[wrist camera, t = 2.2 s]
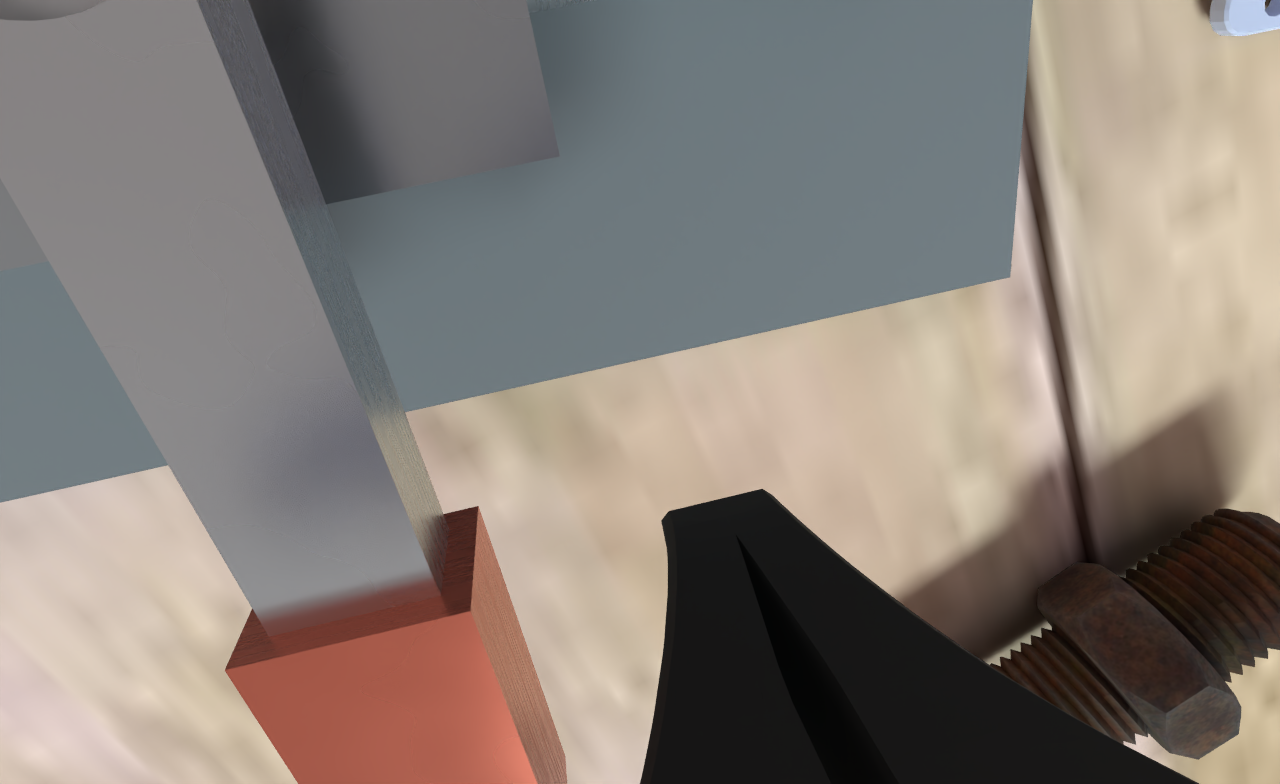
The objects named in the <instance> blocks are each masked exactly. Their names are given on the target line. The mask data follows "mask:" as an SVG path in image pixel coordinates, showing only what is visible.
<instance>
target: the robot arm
mask: <svg viewBox="0 0 1280 784" xmlns="http://www.w3.org/2000/svg"><path fill="white" fill-rule="evenodd" d="M1265 1H1266V0H1212V3H1211V8H1210V24H1211V26H1212V29H1213V31H1215V32H1216V33H1217V34H1219V35H1222V36H1246V35H1251V34H1256V33H1261V32H1265V31H1270V30H1275V29H1280V0H1271V1H1270V3H1269V6H1268V7H1267V8H1266V9H1265ZM662 526H663V531H664V536H665V541H666V546H667V555H668V598H667V612H666V625H665V639H664V649H663V657H662V664H661V671H660V678H659V684H658V691H657V698H656V705H655V711H654V718H653V723H652V729H651V734H650V739H649V744H648V749H647V754H646V759H645V764H644V769H643V773H642V778H641V782H640V784H1199V783H1197V782H1195V781H1193V780H1191V779H1189V778H1187V777H1185V776H1183V775H1181V774H1179V773H1178V772H1176V771H1174V770H1172V769H1170V768H1168V767H1166V766H1164V765H1162V764H1160V763H1158V762H1156V761H1154V760H1152V759H1150V758H1148V757H1146V756H1144V755H1142V754H1141V753H1139V752H1137V751H1135V750H1133V749H1131V748H1129V747H1127V746H1125V745H1123V744H1121V743H1119V742H1118V741H1116V740H1114V739H1112V738H1110V737H1109V736H1107V735H1105V734H1103V733H1102V732H1100V731H1098V730H1096V729H1095V728H1093V727H1091V726H1089V725H1088V724H1086V723H1084V722H1082V721H1081V720H1079V719H1077V718H1075V717H1074V716H1072V715H1070V714H1068V713H1067V712H1065V711H1063V710H1061V709H1060V708H1058V707H1056V706H1055V705H1053V704H1051V703H1050V702H1048V701H1046V700H1045V699H1043V698H1041V697H1040V696H1038V695H1037V694H1035V693H1033V692H1032V691H1030V690H1028V689H1027V688H1025V687H1023V686H1022V685H1020V684H1018V683H1017V682H1015V681H1014V680H1012V679H1010V678H1009V677H1007V676H1006V675H1004V674H1002V673H1001V672H999V671H998V670H996V669H995V668H993V667H992V666H990V665H988V664H987V663H985V662H984V661H982V660H981V659H979V658H978V657H976V656H975V655H973V654H972V653H970V652H969V651H967V650H966V649H964V648H963V647H961V646H960V645H958V644H957V643H956V642H954V641H953V640H951V639H950V638H948V637H947V636H946V635H944V634H943V633H941V632H940V631H938V630H937V629H936V628H934V627H933V626H931V625H930V624H928V623H927V622H926V621H924V620H923V619H921V618H920V617H919V616H917V615H916V614H915V613H913V612H912V611H911V610H909V609H908V608H906V607H905V606H904V605H902V604H901V603H900V602H898V601H897V600H896V599H894V598H893V597H892V596H890V595H889V594H888V593H887V592H885V591H884V590H883V589H882V588H880V587H879V586H878V585H876V584H875V583H874V582H873V581H871V580H870V579H869V578H867V577H866V576H865V575H864V574H862V573H861V572H860V571H859V570H857V569H856V568H855V567H853V566H852V565H851V564H850V563H849V562H847V561H846V560H845V559H844V558H842V557H841V556H840V555H839V554H838V553H836V552H835V551H834V550H833V549H832V548H830V547H829V546H828V545H827V544H826V543H825V542H823V541H822V540H821V539H820V538H819V537H818V536H816V535H815V534H814V533H813V532H812V531H811V530H810V529H808V528H807V527H806V526H805V525H804V524H803V523H802V522H801V521H799V520H798V519H797V518H796V517H795V516H794V515H793V514H792V513H791V512H790V511H789V510H787V509H786V508H785V507H784V506H783V505H782V504H781V503H780V502H779V501H778V500H777V499H776V498H775V497H774V496H773V495H771V494H770V493H768V492H767V491H765V490H763V489H760V490H756V491H751V492H747V493H743V494H739V495H735V496H731V497H726V498H722V499H718V500H714V501H710V502H706V503H701V504H697V505H693V506H689V507H685V508H681V509H676V510H672V511H669V512H668V513H667V514H666V516H665V517H664V518H663V519H662Z"/></svg>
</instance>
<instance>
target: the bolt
mask: <svg viewBox="0 0 1280 784" xmlns="http://www.w3.org/2000/svg"><path fill="white" fill-rule="evenodd" d="M1147 559H1148V562H1143V561H1138V563H1137V570H1135V569H1131V568H1129V569H1127V570H1126V578H1124V577H1119V576H1117V575H1116V574H1114V573H1113V572H1111V571H1110V570H1108V569H1107V568H1105V567H1104V566H1102V565H1099V564H1093V563H1079V562H1076V563H1074V564H1073V565H1071V566H1070V567H1069V568H1067V569H1066V570H1064V571H1063V572H1061V573H1060V574H1058V575H1057V576H1055V577H1054V578H1052V579H1051V580H1049V581H1048V582H1047V583H1045V584H1044V585H1042V586H1041V587H1039V588H1038V594H1037V607H1038V608H1039V610H1040V611H1041V613H1042V615H1043V616H1044V617H1045V619H1046V620H1047V621H1048V623H1049V624H1050V625H1051V626H1052V630H1048V629H1044V628H1041V633H1042V638H1040V637H1036V636H1033V635H1031V645H1029V644H1025V643H1022V642H1021V652H1018V651H1015V650H1012V649H1010V651H1011V660H1010V659H1007V658H1004V657H1000V662H1001V667H1000V666H997V665H995V664H992V663H991V664H990V666H992V667H993V668H995V669H996V670H998V671H999V672H1001V673H1002V674H1004V675H1006V676H1007V677H1009V678H1010V679H1012V680H1014V681H1015V682H1017V683H1018V684H1020V685H1022V686H1023V687H1025V688H1027V689H1028V690H1030V691H1032V692H1033V693H1035V694H1037V695H1038V696H1040V697H1041V698H1043V699H1045V700H1046V701H1048V702H1050V703H1051V704H1053V705H1055V706H1056V707H1058V708H1060V709H1061V710H1063V711H1065V712H1067V713H1068V714H1070V715H1072V716H1074V717H1075V718H1077V719H1079V720H1081V721H1082V722H1084V723H1086V724H1088V725H1089V726H1091V727H1093V728H1095V729H1096V730H1098V731H1100V732H1102V733H1103V734H1105V735H1107V736H1109V737H1110V738H1112V739H1114V740H1116V741H1118V742H1119V743H1121V744H1123V741H1126V742H1129V743H1132V744H1136V741H1135V733H1136V734H1139V735H1142V736H1145V737H1148V733H1149V734H1150V735H1151V736H1152V737H1153V738H1154V739H1155V740H1156V741H1157V742H1158V743H1159V744H1160V745H1161V746H1162V747H1163V748H1165V749H1166V750H1167V751H1168V752H1169V753H1172V754H1176V755H1181V756H1185V757H1190V758H1194V759H1200V758H1201V757H1203V756H1205V755H1206V754H1208V753H1209V752H1211V751H1213V750H1214V749H1216V748H1217V747H1219V746H1220V745H1222V744H1224V743H1225V742H1227V741H1228V740H1230V739H1232V738H1233V737H1235V736H1236V735H1238V734H1239V727H1240V719H1241V706H1240V704H1239V702H1238V700H1237V698H1236V696H1235V694H1234V693H1233V692H1232V690H1231V689H1230V688H1229V686H1228V685H1227V684H1226V682H1225V681H1227V682H1231V676H1230V672H1232V673H1237V674H1241V675H1243V670H1242V665H1247V666H1252V667H1255V660H1254V657H1260V658H1267V659H1268V651H1267V648H1271V649H1277V650H1280V524H1279V523H1278V522H1276V521H1275V520H1273V519H1271V518H1270V517H1268V516H1265V515H1262V514H1259V513H1254V512H1240V511H1236V510H1231V509H1218V510H1216V511H1215V512H1214V516H1212V515H1206V516H1204V517H1202V519H1201V522H1194V523H1193V524H1191V531H1190V530H1187V529H1186V530H1184V531H1182V532H1180V538H1171V540H1170V542H1169V546H1160V547H1159V550H1158V554H1155V553H1151V554H1149V555H1147ZM1241 664H1242V665H1241ZM1231 683H1232V682H1231ZM1147 732H1148V733H1147Z"/></svg>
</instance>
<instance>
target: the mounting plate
mask: <svg viewBox="0 0 1280 784" xmlns="http://www.w3.org/2000/svg"><path fill="white" fill-rule="evenodd" d="M1032 4H1033V0H593V1H588V2H583V3H578V4H573V5H567V6H562V7H557V8H552V9H547V10H541V11H536V12H531V13H529V15H530V20H531V25H532V29H533V34H534V39H535V43H536V48H537V52H538V57H539V62H540V66H541V71H542V76H543V80H544V85H545V90H546V94H547V99H548V103H549V108H550V113H551V117H552V122H553V127H554V131H555V136H556V141H557V145H558V150H559V154H560V156H559V157H554V158H550V159H545V160H540V161H535V162H530V163H525V164H520V165H515V166H510V167H506V168H501V169H496V170H491V171H486V172H481V173H476V174H471V175H467V176H462V177H457V178H452V179H447V180H442V181H437V182H432V183H428V184H423V185H418V186H413V187H408V188H403V189H398V190H393V191H389V192H384V193H379V194H374V195H369V196H364V197H359V198H354V199H349V200H345V201H340V202H335V203H330V204H326V206H327V209H328V211H329V214H330V216H331V219H332V222H333V224H334V227H335V230H336V232H337V235H338V238H339V240H340V243H341V246H342V248H343V251H344V253H345V256H346V259H347V261H348V264H349V267H350V269H351V272H352V275H353V277H354V280H355V282H356V285H357V288H358V290H359V293H360V296H361V298H362V301H363V304H364V306H365V309H366V311H367V314H368V317H369V319H370V322H371V325H372V327H373V330H374V333H375V335H376V338H377V340H378V343H379V346H380V348H381V351H382V354H383V356H384V359H385V362H386V364H387V367H388V370H389V372H390V375H391V377H392V380H393V383H394V385H395V388H396V391H397V393H398V396H399V399H400V401H401V404H402V406H403V409H404V412H408V411H413V410H417V409H422V408H426V407H431V406H435V405H440V404H444V403H448V402H453V401H457V400H462V399H466V398H471V397H475V396H480V395H484V394H489V393H493V392H498V391H502V390H507V389H511V388H516V387H520V386H525V385H529V384H534V383H538V382H543V381H547V380H552V379H556V378H560V377H565V376H569V375H574V374H578V373H583V372H587V371H592V370H596V369H601V368H605V367H610V366H614V365H619V364H623V363H628V362H632V361H637V360H641V359H646V358H650V357H655V356H659V355H664V354H668V353H673V352H677V351H681V350H686V349H690V348H695V347H699V346H704V345H708V344H713V343H717V342H722V341H726V340H731V339H735V338H740V337H744V336H749V335H753V334H758V333H762V332H767V331H771V330H776V329H780V328H785V327H789V326H793V325H798V324H802V323H807V322H811V321H816V320H820V319H825V318H829V317H834V316H838V315H843V314H847V313H852V312H856V311H861V310H865V309H870V308H874V307H879V306H883V305H888V304H892V303H897V302H901V301H905V300H910V299H914V298H919V297H923V296H928V295H932V294H937V293H941V292H946V291H950V290H955V289H959V288H964V287H968V286H973V285H977V284H982V283H986V282H991V281H995V280H1000V279H1004V278H1009V277H1010V271H1011V259H1012V247H1013V235H1014V223H1015V211H1016V198H1017V186H1018V174H1019V162H1020V150H1021V138H1022V126H1023V113H1024V101H1025V89H1026V77H1027V65H1028V53H1029V41H1030V28H1031V16H1032ZM166 465H168V464H167V462H166V460H165V458H164V457H163V455H162V453H161V452H160V450H159V448H158V447H157V445H156V443H155V441H154V440H153V438H152V436H151V435H150V433H149V431H148V430H147V428H146V426H145V424H144V423H143V421H142V419H141V418H140V416H139V414H138V412H137V411H136V409H135V407H134V406H133V404H132V402H131V401H130V399H129V397H128V395H127V394H126V392H125V390H124V389H123V387H122V385H121V383H120V382H119V380H118V378H117V377H116V375H115V373H114V372H113V370H112V368H111V366H110V365H109V363H108V361H107V360H106V358H105V356H104V355H103V353H102V351H101V349H100V348H99V346H98V344H97V343H96V341H95V339H94V337H93V336H92V334H91V332H90V331H89V329H88V327H87V326H86V324H85V322H84V320H83V319H82V317H81V315H80V314H79V312H78V310H77V308H76V307H75V305H74V303H73V302H72V300H71V298H70V297H69V295H68V293H67V291H66V290H65V288H64V286H63V285H62V283H61V281H60V279H59V278H58V276H57V274H56V273H55V271H54V269H53V268H52V266H51V264H50V262H49V261H47V262H42V263H37V264H32V265H28V266H23V267H18V268H13V269H8V270H3V271H0V502H5V501H9V500H14V499H18V498H23V497H27V496H32V495H36V494H41V493H45V492H50V491H54V490H59V489H63V488H68V487H72V486H77V485H81V484H86V483H90V482H95V481H99V480H103V479H108V478H112V477H117V476H121V475H126V474H130V473H135V472H139V471H144V470H148V469H153V468H157V467H162V466H166Z"/></svg>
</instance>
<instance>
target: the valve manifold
mask: <svg viewBox="0 0 1280 784" xmlns="http://www.w3.org/2000/svg"><path fill="white" fill-rule="evenodd" d="M588 1H593V0H249V3H250V5H251V8H252V11H253V13H254V16H255V19H256V21H257V24H258V27H259V29H260V32H261V34H262V37H263V40H264V42H265V45H266V48H267V50H268V53H269V56H270V58H271V61H272V63H273V66H274V69H275V71H276V74H277V77H278V79H279V82H280V85H281V87H282V90H283V92H284V95H285V98H286V100H287V103H288V106H289V108H290V111H291V114H292V116H293V119H294V121H295V124H296V127H297V129H298V132H299V135H300V137H301V140H302V143H303V145H304V148H305V151H306V153H307V156H308V158H309V161H310V164H311V166H312V169H313V172H314V174H315V177H316V180H317V182H318V185H319V187H320V190H321V193H322V195H323V198H324V201H325V203H326V204H330V203H335V202H340V201H345V200H349V199H354V198H359V197H364V196H369V195H374V194H379V193H384V192H389V191H393V190H398V189H403V188H408V187H413V186H418V185H423V184H428V183H432V182H437V181H442V180H447V179H452V178H457V177H462V176H467V175H471V174H476V173H481V172H486V171H491V170H496V169H501V168H506V167H510V166H515V165H520V164H525V163H530V162H535V161H540V160H545V159H550V158H554V157H559V156H560V154H559V150H558V145H557V141H556V136H555V131H554V127H553V122H552V117H551V113H550V108H549V103H548V99H547V94H546V90H545V85H544V80H543V76H542V71H541V66H540V62H539V57H538V52H537V48H536V43H535V39H534V34H533V29H532V25H531V20H530V15H529V13H531V12H536V11H541V10H547V9H552V8H557V7H562V6H567V5H573V4H578V3H583V2H588ZM47 261H48V259H47V257H46V256H45V254H44V252H43V251H42V249H41V247H40V245H39V244H38V242H37V240H36V239H35V237H34V235H33V233H32V232H31V230H30V228H29V227H28V225H27V223H26V222H25V220H24V218H23V216H22V215H21V213H20V211H19V210H18V208H17V206H16V204H15V203H14V201H13V199H12V198H11V196H10V194H9V193H8V191H7V189H6V187H5V186H4V184H3V182H2V181H1V179H0V271H3V270H8V269H13V268H18V267H23V266H28V265H32V264H37V263H42V262H47Z"/></svg>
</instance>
